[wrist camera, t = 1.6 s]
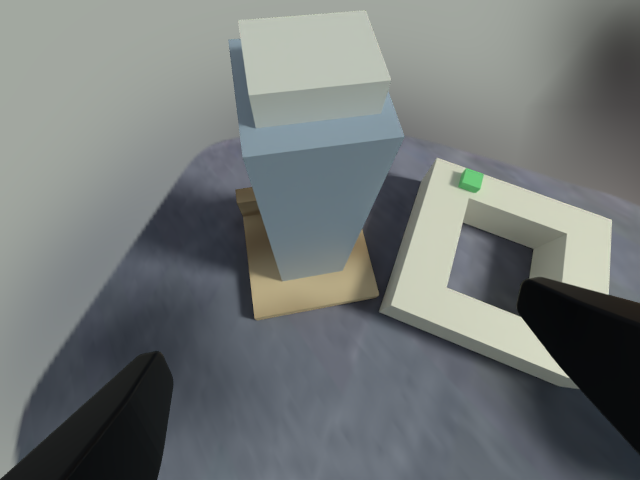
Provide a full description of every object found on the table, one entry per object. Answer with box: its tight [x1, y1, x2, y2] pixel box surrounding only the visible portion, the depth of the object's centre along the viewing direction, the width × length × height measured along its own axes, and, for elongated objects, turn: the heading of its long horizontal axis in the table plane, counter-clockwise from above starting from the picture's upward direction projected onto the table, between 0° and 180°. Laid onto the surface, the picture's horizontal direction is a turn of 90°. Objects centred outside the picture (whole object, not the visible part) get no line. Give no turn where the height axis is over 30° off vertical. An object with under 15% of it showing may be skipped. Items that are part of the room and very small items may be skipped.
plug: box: [228, 11, 404, 281], centre depth 13 cm, size 4×4×14 cm
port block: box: [379, 158, 612, 389], centre depth 19 cm, size 11×12×4 cm
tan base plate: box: [236, 187, 379, 320], centre depth 20 cm, size 8×8×3 cm
